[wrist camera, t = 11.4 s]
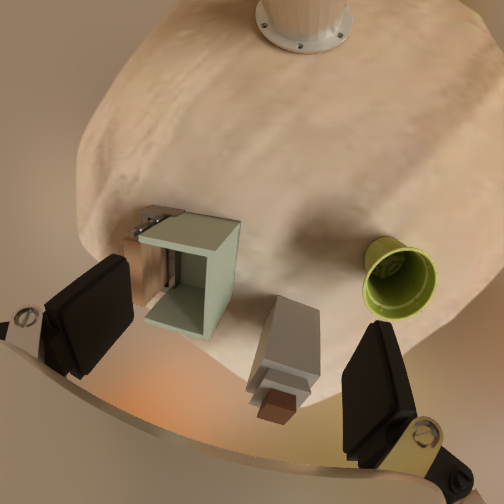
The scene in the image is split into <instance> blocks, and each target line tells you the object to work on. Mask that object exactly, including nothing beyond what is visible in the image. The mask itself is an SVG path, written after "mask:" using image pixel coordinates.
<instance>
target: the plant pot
mask: <svg viewBox="0 0 504 504" xmlns="http://www.w3.org/2000/svg"><path fill="white" fill-rule="evenodd" d="M386 257H387V260H384V258H386ZM397 265H398V267H397V268H396V269H395V270H394V271H391V270H392V269H393V268H395V267H396V266H397ZM374 268H375V269H376V271H373V269H374ZM365 269H366V276H365V279H364V283H363V299H364V302H365V305H366V306H367V308H368V309H369V311H370V312H371V313H372V314H374V315H375V316H376V317H378V318H380V319H383V320H387V321H401V320H405V319H408V318H410V317H412V316H414V315H416V314H418V313H419V312H420V311H421V310H422V309H424V308H425V307H426V305H427V304H428V303H429V302H430V300H431V298H432V297H433V295H434V292H435V290H436V286H437V280H438V275H437V269H436V266H435V264H434V262H433V260H432V259H431V258H430V256H429V255H427V254H426V253H425V252H423V251H422V250H419V249H417V248H412V247H407V246H406V245H404V244H403V243H401V242H400V241H398V240H397V239H395V238H392V237H382V238H379V239H377V240H375V241H374V242H372V243H371V244H370V246H369V247H368V249H367V251H366V254H365Z"/></svg>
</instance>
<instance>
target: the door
mask: <svg viewBox="0 0 504 504" xmlns="http://www.w3.org/2000/svg"><path fill="white" fill-rule="evenodd" d="M154 226H155V225H154ZM152 227H153V226H152ZM152 227H151V228H152ZM123 250H124V257H125V258H126V259H127V262H129V265H130V278H131V290H132V301H133V304H136V305H140V306H143V307H145V306H146V305H147V304H148V302H149V301H150V300H151V299H152V298H153V297H154V296H155V295H156V294H157V293H158V292H159V291H160V290H161V289H162V288H163V287H164V286H165V285H166V283H167V282H168V281H169V249H168V248H163V247H159V246H154V245H150V244H145V243H141V242H139V235H137V236H135V237H134V238H133V237H129V236H128V237H126V238H124V239H123Z"/></svg>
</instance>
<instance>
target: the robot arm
mask: <svg viewBox="0 0 504 504" xmlns="http://www.w3.org/2000/svg"><path fill="white" fill-rule="evenodd" d="M255 18H256V23H257V25H258V27H259V29H260V31H261V33H262V34H263V35H264V36H265V37H266V38H267V39H268V40H269V41H270V42H271V43H273V44H274V45H276V46H278V47H280V48H282V49H284V50H287V51H290V52H295V53H300V54H317V53H323V52H326V51H330V50H332V49H334V48H336V47H338V46H339V45H341V44H342V43H343V42H344V41H345V40H346V39H347V38H348V36H349V34H350V32H351V29H352V26H353V17H352V12H351V10H350V8H349V6H348V5H347V3H346V0H260V1H259V2H258V4H257V7H256V10H255ZM264 27H267V28H264ZM338 37H341V38H338ZM299 47H302V49H298V48H299ZM44 306H45V309H46V311H45V312H44V313H43V312H42V310H41V308H39V307H38V306H35V305H25V306H22V307H20V308H19V309H17V310H16V311H15V312H14V313H13V314H12V316H11V319H10V322H3V323H0V504H486V503H485V502H484V500H483V499H482V497H481V496H480V494H479V493H478V491H477V489H474V490H472V487H473V484H474V477H473V474H472V471H471V470H470V469H469V468H468V467H467V466H466V465H465V464H464V463H462V462H461V461H460V460H459V459H457V458H456V457H455V456H454V455H452V454H451V453H450V452H449V451H447V450H446V449H445V448H444V447H442V446H441V445H442V442H443V432H442V429H441V427H440V426H439V424H438V423H437V422H436V421H435V420H433V419H432V418H430V417H426V416H420V417H417V413H416V407H415V403H414V399H413V395H412V391H411V387H410V383H409V380H408V376H407V372H406V368H405V365H404V362H403V358H402V355H401V352H400V348H399V345H398V342H397V339H396V336H395V333H394V330H393V327H392V324H391V323H389V322H384V321H379V320H376V321H375V322H374V323H370V324H369V326H368V327H367V329H366V331H365V333H364V335H363V337H362V339H361V341H360V343H359V345H358V346H357V348H356V350H355V352H354V354H353V356H352V357H351V359H350V361H349V363H348V364H347V366H346V368H345V369H344V371H343V374H342V401H343V402H342V404H343V452H344V453H347V461H358V467H359V468H336V467H324V466H314V465H306V464H296V463H290V462H284V461H277V460H272V459H266V458H261V457H255V456H251V455H247V454H243V453H238V452H234V451H230V450H226V449H223V448H219V447H216V446H212V445H209V444H206V443H202V442H199V441H196V440H193V439H190V438H187V437H185V436H182V435H179V434H176V433H174V432H171V431H168V430H166V429H163V428H161V427H158V426H156V425H153V424H151V423H149V422H146V421H144V420H142V419H140V418H138V417H135V416H133V415H131V414H129V413H127V412H125V411H122V410H121V409H119V408H117V407H115V406H113V405H111V404H109V403H107V402H105V401H103V400H101V399H99V398H98V397H96V396H94V395H92V394H91V393H89V392H87V391H86V390H84V389H82V388H81V387H79V386H77V385H76V384H74V383H73V382H71V381H69V380H68V379H67V374H68V373H69V372H70V374H71V375H73V376H75V377H76V378H78V379H79V380H81V379H82V377H83V376H84V375H88V374H89V373H90V372H91V371H92V369H93V368H94V367H95V366H96V364H97V363H98V362H99V361H100V360H101V358H102V357H103V356H104V355H105V354H106V352H107V351H108V350H109V349H110V348H111V346H112V345H113V344H114V343H115V341H116V340H117V339H118V338H119V337H120V336H121V335H122V333H123V332H124V331H125V330H126V329H127V328H128V326H129V325H130V324H131V323H132V321H133V318H134V310H133V301H132V290H131V278H130V265H129V262H127V259H126V258H125V257H123V256H120V255H117V254H111V255H109V256H108V257H106V258H105V259H104V260H102V261H101V262H99V263H98V264H97V265H95V266H94V267H92V268H91V269H90V270H88V271H87V272H86V273H84V274H83V275H82V276H80V277H79V278H77V279H76V280H75V281H74V282H72V283H71V284H70V285H68V286H67V287H66V288H65V289H63V290H62V291H61V292H59V293H58V294H57V295H55V296H54V297H53V298H52V299H51V300H49V301H48V302H47V303H46V304H44Z"/></svg>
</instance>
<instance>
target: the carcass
mask: <svg viewBox="0 0 504 504" xmlns="http://www.w3.org/2000/svg"><path fill="white" fill-rule="evenodd" d="M240 225H241V221H236V220H230V219H224V218H219V217H213V216H207V215H201V214H195V213H189V212H184V213H182V214H180V215H179V216H177V217H172V216H171V217H169V218H167V219H165V220H164V221H162V222H160V223H158V224H157V225H155V226H153V227H152V228H150V229H148V230H147V231H145V232H143V233H142V234H140V235H139V242H141V243H145V244H150V245H154V246H159V247H163V248H168V249H172V250H177V251H181V283H180V284H179V285H178V286H177V287H176V289H172V288H170V289H169V290H168V291H167V292H166V294H165V295H164V296H163V297H162V298H161V299H160V300H159V301H158V302H157V304H156V305H155V306H154V307H153V308H152V309H151V310H150V311H149V313H148V314H147V315H146V316H145V317H144V318H145V322H146V323H149V324H152V325H155V326H158V327H161V328H164V329H167V330H171V331H174V332H177V333H180V334H184V335H187V336H190V337H194V338H197V339H201V340H205V341H208V342H210V340H211V338H212V336H213V334H214V332H215V330H216V328H217V326H218V324H219V322H220V320H221V318H222V316H223V314H224V312H225V310H226V308H227V306H228V304H229V302H230V300H231V298H232V293H233V284H234V276H235V267H236V258H237V250H238V242H239V233H240Z"/></svg>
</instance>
